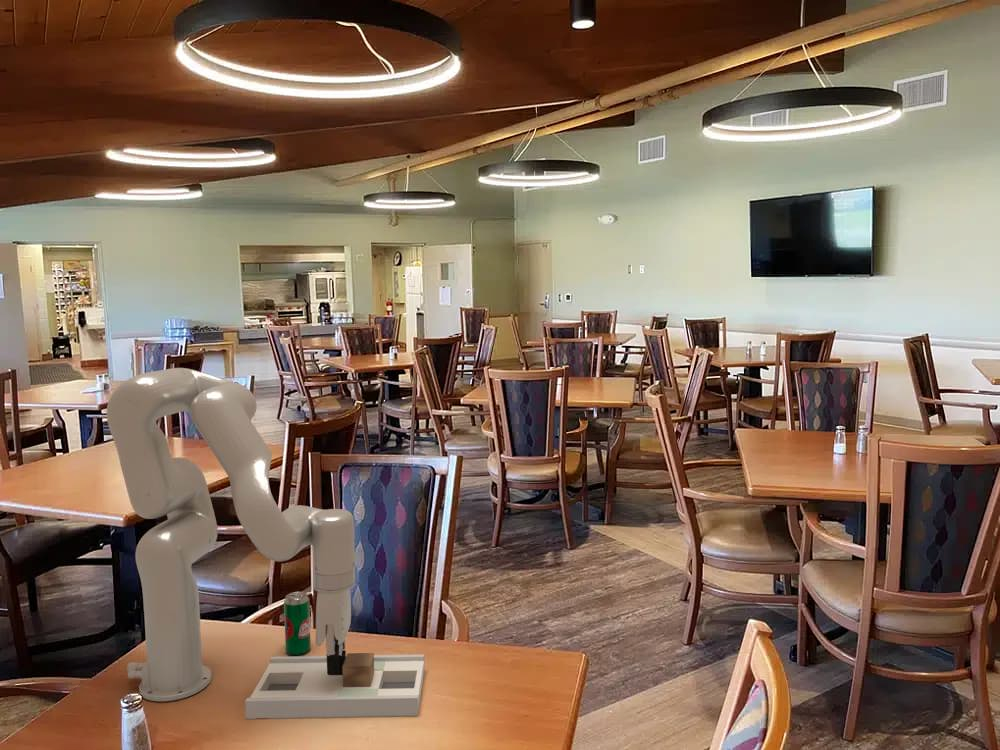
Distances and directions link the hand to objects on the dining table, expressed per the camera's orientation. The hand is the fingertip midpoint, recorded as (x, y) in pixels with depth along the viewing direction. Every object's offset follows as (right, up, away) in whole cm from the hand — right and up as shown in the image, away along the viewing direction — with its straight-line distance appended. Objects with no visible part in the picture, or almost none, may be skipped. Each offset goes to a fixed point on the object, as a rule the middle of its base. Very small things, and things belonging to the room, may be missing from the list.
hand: (336, 672), depth 138 cm
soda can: (-12, -3, +17) cm, 21 cm away
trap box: (+1, -4, 0) cm, 4 cm away
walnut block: (+4, -1, 0) cm, 4 cm away
